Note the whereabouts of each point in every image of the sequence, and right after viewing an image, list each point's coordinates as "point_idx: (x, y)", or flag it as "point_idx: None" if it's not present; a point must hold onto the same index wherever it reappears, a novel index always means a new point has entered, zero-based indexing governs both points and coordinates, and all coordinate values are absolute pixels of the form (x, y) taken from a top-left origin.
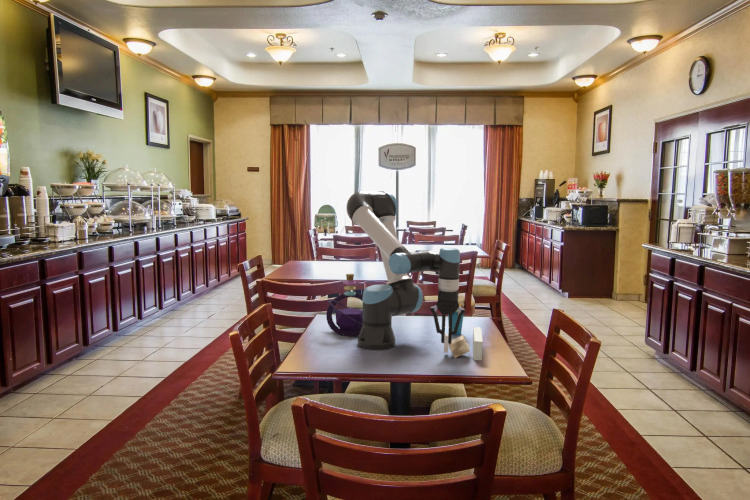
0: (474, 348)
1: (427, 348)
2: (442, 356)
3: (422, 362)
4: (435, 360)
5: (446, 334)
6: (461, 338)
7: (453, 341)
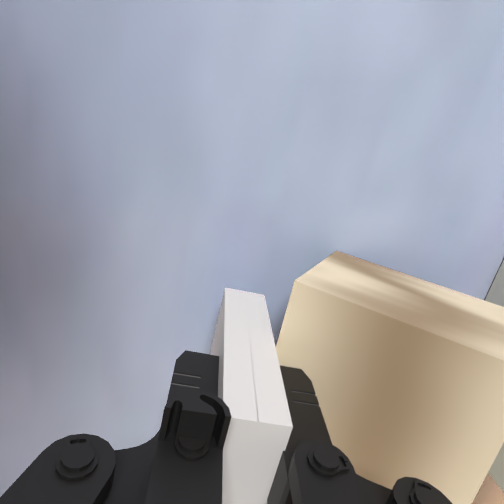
0: (501, 485)
1: (65, 88)
2: (200, 338)
3: (20, 469)
4: (127, 427)
5: (243, 466)
6: (445, 487)
7: (335, 394)
